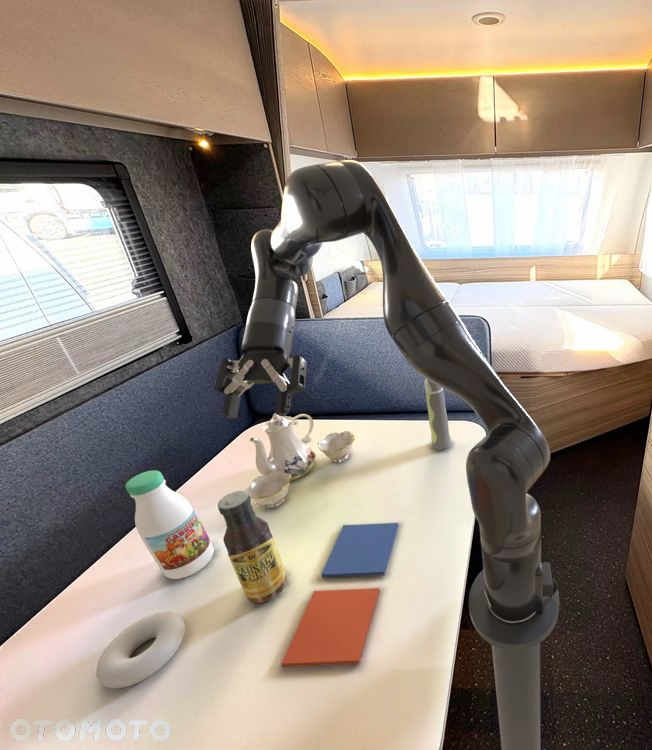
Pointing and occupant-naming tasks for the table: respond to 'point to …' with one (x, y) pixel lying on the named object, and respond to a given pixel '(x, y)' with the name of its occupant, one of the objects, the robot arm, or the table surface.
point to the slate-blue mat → (361, 550)
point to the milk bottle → (169, 526)
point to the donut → (127, 671)
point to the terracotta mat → (333, 628)
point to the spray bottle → (437, 415)
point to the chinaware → (290, 458)
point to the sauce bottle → (251, 549)
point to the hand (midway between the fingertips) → (255, 416)
